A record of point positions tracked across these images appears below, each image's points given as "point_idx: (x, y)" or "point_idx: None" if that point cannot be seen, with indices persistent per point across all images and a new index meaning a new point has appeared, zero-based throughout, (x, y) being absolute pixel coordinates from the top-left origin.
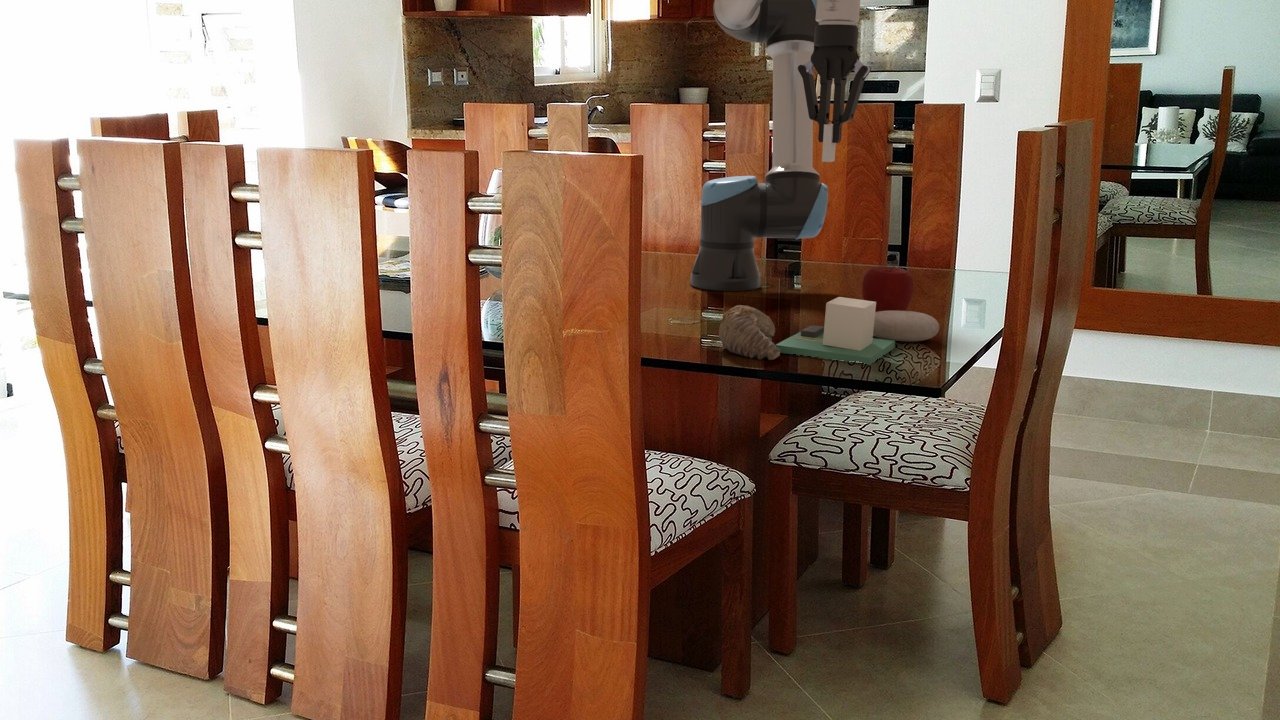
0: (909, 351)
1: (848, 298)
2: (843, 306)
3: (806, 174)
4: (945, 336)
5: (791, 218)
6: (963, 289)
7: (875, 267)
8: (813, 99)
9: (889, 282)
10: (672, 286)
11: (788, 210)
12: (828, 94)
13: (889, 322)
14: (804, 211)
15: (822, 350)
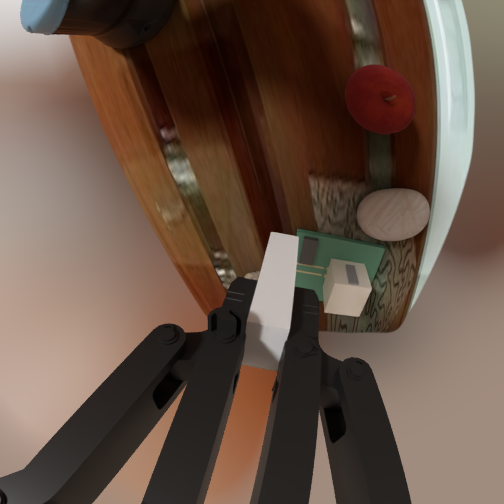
0: (395, 252)
1: (344, 286)
2: (340, 313)
3: None
4: (432, 179)
5: None
6: None
7: (366, 89)
8: (144, 431)
9: (388, 133)
10: (94, 56)
11: None
12: (209, 476)
13: (383, 240)
14: None
15: (323, 299)
